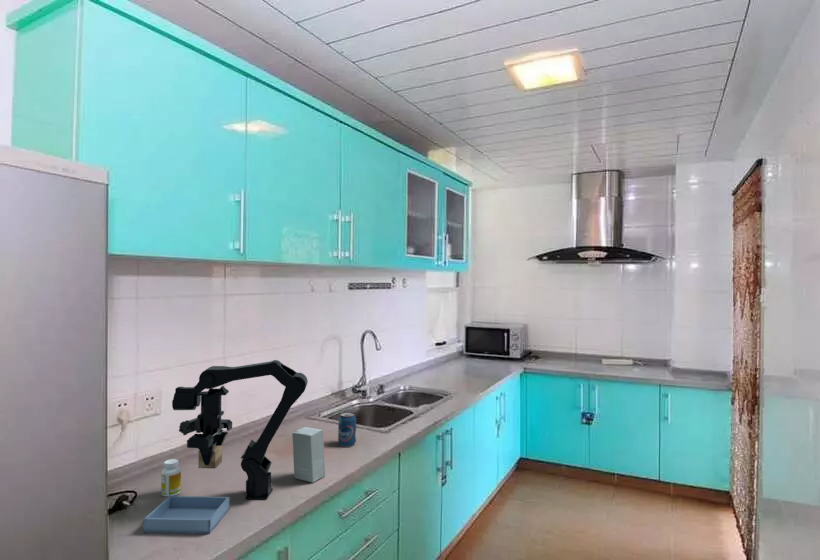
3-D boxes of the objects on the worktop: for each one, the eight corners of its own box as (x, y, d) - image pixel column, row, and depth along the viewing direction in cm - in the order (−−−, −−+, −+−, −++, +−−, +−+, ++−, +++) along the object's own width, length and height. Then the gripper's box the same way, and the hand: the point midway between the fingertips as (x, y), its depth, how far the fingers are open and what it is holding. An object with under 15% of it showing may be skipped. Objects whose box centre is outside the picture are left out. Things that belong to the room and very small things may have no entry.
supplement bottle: (183, 489, 152) (184, 458, 152) (176, 497, 146) (176, 464, 146) (166, 489, 152) (166, 458, 152) (157, 497, 146) (158, 464, 146)
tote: (229, 509, 139) (229, 497, 139) (209, 533, 126) (209, 520, 126) (169, 508, 140) (169, 495, 140) (143, 532, 126) (143, 518, 126)
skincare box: (325, 476, 162) (326, 429, 162) (310, 484, 156) (311, 435, 156) (306, 471, 167) (306, 424, 166) (291, 478, 160) (291, 430, 160)
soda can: (337, 447, 190) (337, 416, 189) (339, 441, 196) (339, 411, 196) (355, 447, 190) (355, 416, 190) (356, 441, 197) (356, 411, 197)
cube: (222, 462, 149) (222, 445, 149) (215, 468, 144) (215, 451, 144) (205, 461, 149) (205, 445, 149) (198, 468, 144) (198, 451, 144)
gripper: (198, 401, 156) (197, 449, 156) (168, 418, 137) (167, 473, 137) (233, 401, 156) (232, 450, 156) (207, 418, 137) (207, 474, 137)
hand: (210, 461), depth 147 cm, fingers closed on cube, 5 cm apart
